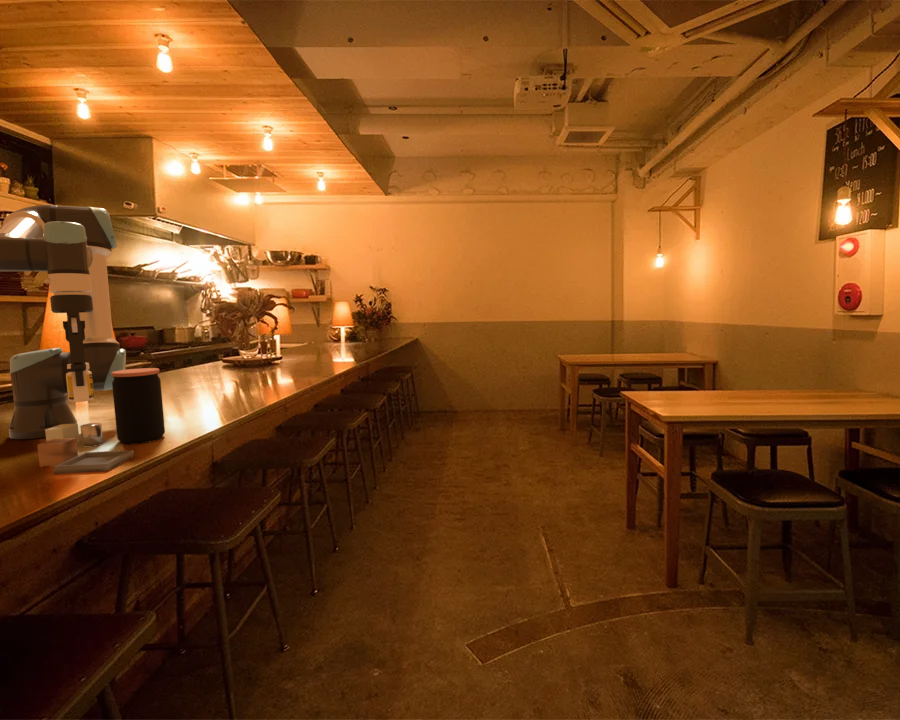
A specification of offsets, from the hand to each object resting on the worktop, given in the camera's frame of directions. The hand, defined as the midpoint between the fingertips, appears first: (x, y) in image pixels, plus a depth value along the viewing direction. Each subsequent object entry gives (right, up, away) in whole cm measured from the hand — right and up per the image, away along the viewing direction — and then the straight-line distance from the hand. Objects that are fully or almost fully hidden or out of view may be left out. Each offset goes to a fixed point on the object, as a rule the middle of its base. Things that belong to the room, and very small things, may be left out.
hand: (81, 399), depth 117 cm
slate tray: (+5, -14, -3) cm, 15 cm away
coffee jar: (+2, -12, +19) cm, 23 cm away
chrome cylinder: (-8, -12, +15) cm, 21 cm away
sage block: (-15, -13, +15) cm, 25 cm away
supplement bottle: (0, -1, 0) cm, 1 cm away
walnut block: (-5, -14, 0) cm, 15 cm away
